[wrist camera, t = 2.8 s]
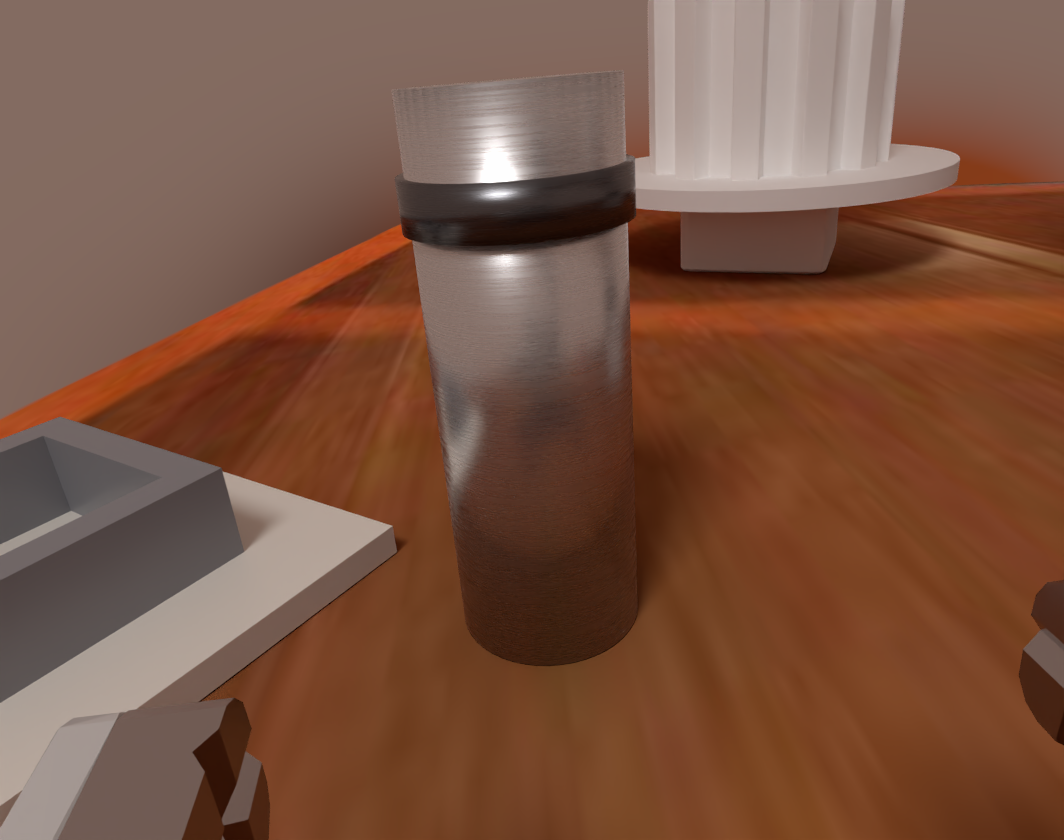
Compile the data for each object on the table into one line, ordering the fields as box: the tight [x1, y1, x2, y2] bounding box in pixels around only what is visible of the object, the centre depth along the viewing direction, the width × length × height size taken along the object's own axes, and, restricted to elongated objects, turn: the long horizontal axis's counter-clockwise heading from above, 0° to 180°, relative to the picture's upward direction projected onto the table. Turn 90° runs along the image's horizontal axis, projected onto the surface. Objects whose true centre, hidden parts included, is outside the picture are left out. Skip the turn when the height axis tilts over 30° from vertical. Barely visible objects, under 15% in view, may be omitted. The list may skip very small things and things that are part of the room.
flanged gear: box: [635, 0, 960, 274], centre depth 55 cm, size 25×25×19 cm
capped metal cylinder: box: [392, 70, 638, 666], centre depth 20 cm, size 5×5×14 cm
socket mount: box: [0, 417, 397, 828], centre depth 23 cm, size 16×16×4 cm
